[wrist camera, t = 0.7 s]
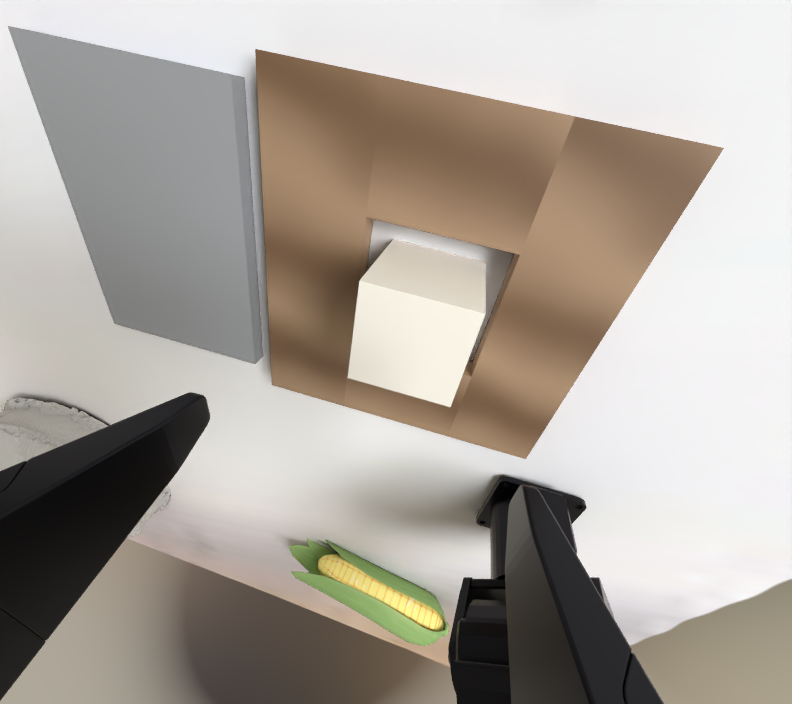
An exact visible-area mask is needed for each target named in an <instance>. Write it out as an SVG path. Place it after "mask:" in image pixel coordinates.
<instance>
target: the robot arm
mask: <svg viewBox="0 0 792 704" xmlns="http://www.w3.org/2000/svg"><path fill="white" fill-rule="evenodd" d="M209 420H210V413H209V408H208V404H207V400H206V398H205V397H204V396H203V395H200V394H196V393H187V394H184V395H182V396H179V397H177V398H175V399H172V400H170V401H167V402H165V403H163V404H160V405H158V406H155V407H153V408H151V409H148V410H146V411H143V412H141V413H139V414H136V415H134V416H131V417H129V418H126V419H124V420H122V421H119V422H117V423H114V424H112V425H110V426H107V427H105V428H102V429H100V430H98V431H95V432H93V433H90V434H88V435H86V436H83V437H81V438H78V439H76V440H74V441H71V442H69V443H66V444H64V445H62V446H59V447H57V448H54V449H52V450H50V451H47V452H45V453H42V454H40V455H38V456H35V457H33V458H30V459H29V460H28V461H23V462H21V463H18V464H16V465H13V466H11V467H9V468H6V469H4V470H1V471H0V700H1V699H2V698H3V696H4V695H5V694H6V693H7V691H8V690H9V689H10V687H11V686H12V685H13V683H14V682H15V681H16V680H17V678H18V677H19V676H20V675H21V673H22V672H23V671H24V669H25V668H26V667H27V666H28V664H29V663H30V662H31V660H32V659H33V658H34V657H35V655H36V654H37V653H38V651H39V650H40V649H41V648H42V646H43V645H44V643H45V640H47V639H48V638H49V637H50V636H51V634H52V633H53V632H54V630H55V629H56V628H57V627H58V625H59V624H60V623H61V621H62V620H63V619H64V617H65V616H66V615H67V614H68V612H69V611H70V610H71V608H72V607H73V606H74V605H75V603H76V602H77V601H78V599H79V598H80V597H81V596H82V594H83V593H84V592H85V590H86V589H87V588H88V586H89V585H90V584H91V582H92V581H93V580H94V579H95V577H96V576H97V575H98V574H99V572H100V571H101V570H102V568H103V567H104V566H105V565H106V563H107V562H108V561H109V559H110V558H111V557H112V556H113V554H114V553H115V552H116V550H117V549H118V548H119V547H120V545H121V544H122V543H123V541H124V540H125V539H126V538H127V536H128V535H129V534H130V532H131V531H132V530H133V528H134V527H135V526H136V525H137V523H138V522H139V521H140V519H141V518H142V517H143V516H144V514H145V513H146V512H147V510H148V509H149V508H150V507H151V505H152V504H153V503H154V501H155V500H156V499H157V498H158V496H159V495H160V494H161V492H162V491H163V490H164V488H165V487H166V486H167V485H168V483H169V482H170V481H171V479H172V478H173V477H174V475H175V474H176V473H177V471H178V470H179V469H180V467H181V466H182V464H183V463H184V461H185V460H186V458H187V456H188V455H189V453H190V452H191V450H192V448H193V447H194V445H195V444H196V442H197V440H198V439H199V437H200V436H201V434H202V432H203V431H204V429H205V428H206V426H207V425H208V423H209ZM585 509H586V504H585V501H584V500H583V499H581V498H577V497H574V496H571V495H567V494H564V493H561V492H557V491H554V490H550V489H547V488H544V487H540V486H537V485H534V484H530V483H527V482H524V481H520V480H517V479H513V478H510V477H506V476H504V477H500V478H499V480H498V481H497V483H496V485H495V486H494V488H493V490H492V491H491V493H490V495H489V496H488V498H487V500H486V501H485V503H484V505H483V507H482V508H481V510H480V512H479V513H478V515H477V518H476V522H477V524H479V525H481V526H485V527H488V528H490V536H491V579H472V578H471V577H464V578H463V583H462V588H461V590H460V594H459V599H458V604H457V609H456V613H455V618H454V623H453V628H452V632H451V637H450V642H449V655H448V659H449V663H450V666H451V675H452V681H453V685H454V689H455V692H456V695H457V704H664V703H663V701H662V699H661V698H660V696H659V695H658V693H657V691H656V689H655V688H654V686H653V684H652V683H651V681H650V679H649V678H648V676H647V674H646V673H645V671H644V669H643V668H642V666H641V664H640V663H639V661H638V659H637V658H636V656H635V654H634V653H631V647H630V646H629V644H628V642H627V640H626V639H625V637H624V635H623V634H622V632H621V630H620V628H619V627H618V625H617V623H616V622H615V620H614V616H613V613H612V610H611V608H610V605H609V602H608V600H607V597H606V594H605V592H604V589H603V586H602V584H601V581H600V578H590V577H589V575H588V574H587V572H586V570H585V568H584V567H583V565H582V563H581V562H580V560H579V558H578V556H577V548H576V543H575V538H574V534H573V529H572V523H573V522H574V521H575V520H576V519H577V518H578V517H579V516H580V515H581V514H582V512H583V511H584V510H585Z"/></svg>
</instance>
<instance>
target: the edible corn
mask: <svg viewBox="0 0 792 704" xmlns="http://www.w3.org/2000/svg"><path fill="white" fill-rule="evenodd" d="M307 541H308V544H309V547H308V546H303V545H299V544H298V545H293V546H289V548H290V551H291V553H292V555H293V557H294V558H296V559H297V560H298V561H299V562H300V563H301V564H302V565H303V566H304V567H305V568H306V569H307V570H308V571H309V573H304V572H291V573H292V574H293V575H294V576H295V578H297V579H299V580H301V581H303V582H305V583H307V584H308V585H310V586H312V587H314V588H316V589H318V590H319V591H321V592H323V593H325V594H327V595H329V596H330V597H332V598H334V599H336V600H338V601H339V602H341V603H343V604H345V605H346V606H348V607H350V608H352V609H353V610H355V611H357V612H359V613H360V614H362V615H364V616H365V617H367V618H369V619H370V620H372V621H374V622H375V623H377V624H378V625H380V626H381V627H383V628H385V629H386V630H388V631H389V632H391V633H393V634H395V635H396V636H398V637H400V638H401V639H403V640H405V641H407V642H409V643H413V644H417V645H423V646H425V645H428V644H431V643H434V642H435V641H436V640H437V639H439V638H440V637H441V636H442V635H443V636H446V635H447V634H448V631H449V624H448V623H447V622H445V616H444V612H443V610H442V608H441V606H440V604H439V602H438V600H437V598H436V597H435V596H434V595H432V594H431V593H430V592H428V591H426V590H424V589H423V588H421V587H419V586H417V585H415V584H413V583H411V582H409V581H407V580H404V579H402V578H400V577H398V576H396V575H394V574H392V573H390V572H388V571H386V570H384V569H382V568H380V567H378V566H376V565H374V564H372V563H370V562H368V561H366V560H364V559H362V558H360V557H358V556H356V555H354V554H352V553H350V552H348V551H346V550H344V549H342V548H340V547H339V546H337V545H335V544H333V543H331V542H329V541H327V540H326V541H327V542H328V544H329V545H330V546H331V547H330V546H329V547H330V548H332V549H334V550H335V551H337V552H338V553H339V554H340V555H339V554H337V553H335V552H333V551H331V550H329V549H327V548H325V547H323V546H321V545H319V544H317V543H315V542H313V541H311V540H309V539H307ZM327 546H328V545H327Z"/></svg>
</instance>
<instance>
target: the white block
mask: <svg viewBox="0 0 792 704" xmlns="http://www.w3.org/2000/svg"><path fill="white" fill-rule="evenodd" d="M485 314H486V262H483V261H479V260H475V259H471V258H467V257H463V256H459V255H455V254H451V253H447V252H443V251H439V250H435V249H431V248H427V247H423V246H419V245H415V244H411V243H407V242H403V241H399V240H395V239H393V240H392V241H391V243H390V244H389V245H388V246H387V247H386V249H385V250H384V251H383V252H382V254H381V255H380V256H379V257H378V259H377V260H376V261H375V262H374V263H373V265H372V266H371V267H370V268H369V270H368V271H367V272H366V273H365V274H364V276H363V277H362V278H361V279H360V281H359V288H358V296H357V304H356V312H355V321H354V329H353V337H352V345H351V353H350V362H349V370H348V378H350V379H353V380H357V381H360V382H364V383H367V384H371V385H374V386H378V387H381V388H385V389H388V390H392V391H395V392H399V393H402V394H406V395H409V396H413V397H416V398H420V399H423V400H427V401H430V402H434V403H437V404H441V405H444V406H448V407H451V405H452V402H453V399H454V397H455V394H456V391H457V389H458V386H459V383H460V381H461V378H462V375H463V373H464V370H465V367H466V365H467V362H468V360H469V357H470V354H471V352H472V349H473V346H474V344H475V341H476V338H477V336H478V333H479V330H480V328H481V325H482V322H483V320H484V317H485Z"/></svg>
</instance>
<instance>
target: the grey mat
mask: <svg viewBox="0 0 792 704" xmlns="http://www.w3.org/2000/svg"><path fill="white" fill-rule="evenodd" d="M8 28H9V31H10V34H11V36H12V39H13V42H14V45H15V48H16V50H17V53H18V56H19V59H20V62H21V64H22V67H23V70H24V73H25V75H26V78H27V81H28V84H29V87H30V89H31V92H32V95H33V98H34V101H35V103H36V106H37V109H38V112H39V115H40V117H41V120H42V123H43V126H44V128H45V131H46V134H47V137H48V140H49V142H50V145H51V148H52V151H53V154H54V156H55V159H56V162H57V165H58V168H59V170H60V173H61V176H62V179H63V181H64V184H65V187H66V190H67V193H68V195H69V198H70V201H71V204H72V207H73V209H74V212H75V215H76V218H77V221H78V223H79V226H80V229H81V232H82V234H83V237H84V240H85V243H86V246H87V248H88V251H89V254H90V257H91V260H92V262H93V265H94V268H95V271H96V274H97V276H98V279H99V282H100V285H101V287H102V290H103V293H104V296H105V299H106V301H107V304H108V307H109V310H110V313H111V315H112V318H113V321H114V323H115V324H118V325H122V326H125V327H129V328H132V329H136V330H139V331H142V332H146V333H149V334H153V335H156V336H160V337H163V338H167V339H170V340H174V341H177V342H181V343H184V344H188V345H191V346H195V347H198V348H201V349H205V350H208V351H212V352H215V353H219V354H222V355H226V356H229V357H233V358H236V359H240V360H243V361H247V362H250V363H253V364H256V363H257V362H258V360H259V359H260V358H261V357H262V356H263V353H262V338H261V323H260V307H259V292H258V277H257V262H256V247H255V232H254V217H253V201H252V186H251V171H250V156H249V141H248V126H247V111H246V95H245V80H244V77H240V76H235V75H231V74H226V73H222V72H217V71H213V70H208V69H203V68H199V67H194V66H190V65H185V64H181V63H176V62H171V61H167V60H162V59H158V58H153V57H149V56H144V55H139V54H135V53H130V52H126V51H121V50H117V49H112V48H107V47H103V46H98V45H94V44H89V43H85V42H80V41H75V40H71V39H66V38H62V37H57V36H53V35H48V34H43V33H39V32H34V31H30V30H25V29H20V28H15V27H10V26H8Z"/></svg>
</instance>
